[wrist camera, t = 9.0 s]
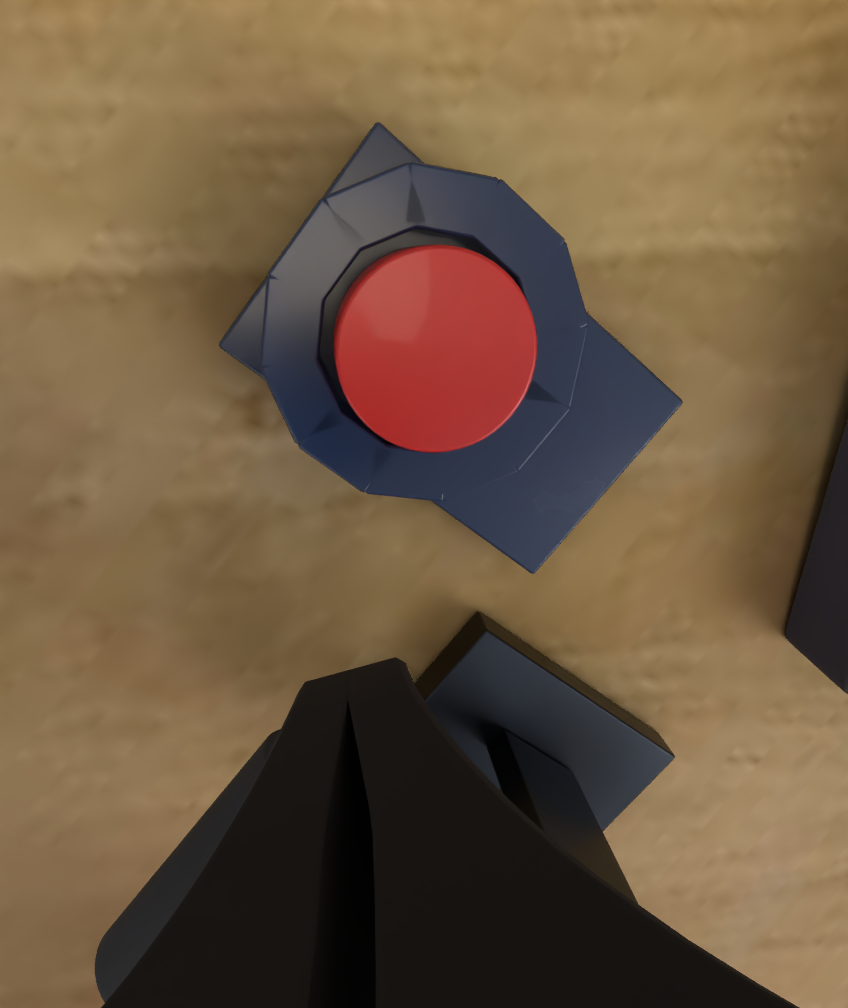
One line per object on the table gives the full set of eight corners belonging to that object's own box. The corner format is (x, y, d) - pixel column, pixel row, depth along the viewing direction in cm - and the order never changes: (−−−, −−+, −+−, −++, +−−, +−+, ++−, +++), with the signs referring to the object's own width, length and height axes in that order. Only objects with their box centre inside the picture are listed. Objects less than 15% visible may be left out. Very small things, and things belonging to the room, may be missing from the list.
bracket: (315, 797, 22) (313, 1086, 14) (477, 609, 21) (572, 818, 13) (503, 895, 24) (587, 1185, 17) (659, 733, 23) (828, 969, 15)
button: (295, 360, 15) (293, 373, 13) (411, 202, 14) (423, 196, 13) (438, 467, 16) (451, 491, 15) (551, 327, 16) (579, 336, 14)
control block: (212, 354, 17) (192, 374, 14) (385, 111, 16) (400, 81, 13) (511, 570, 20) (542, 620, 18) (675, 380, 19) (736, 401, 16)
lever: (95, 910, 13) (90, 1030, 11) (256, 713, 12) (277, 811, 10) (481, 961, 19) (516, 1043, 17) (608, 831, 18) (657, 906, 16)
